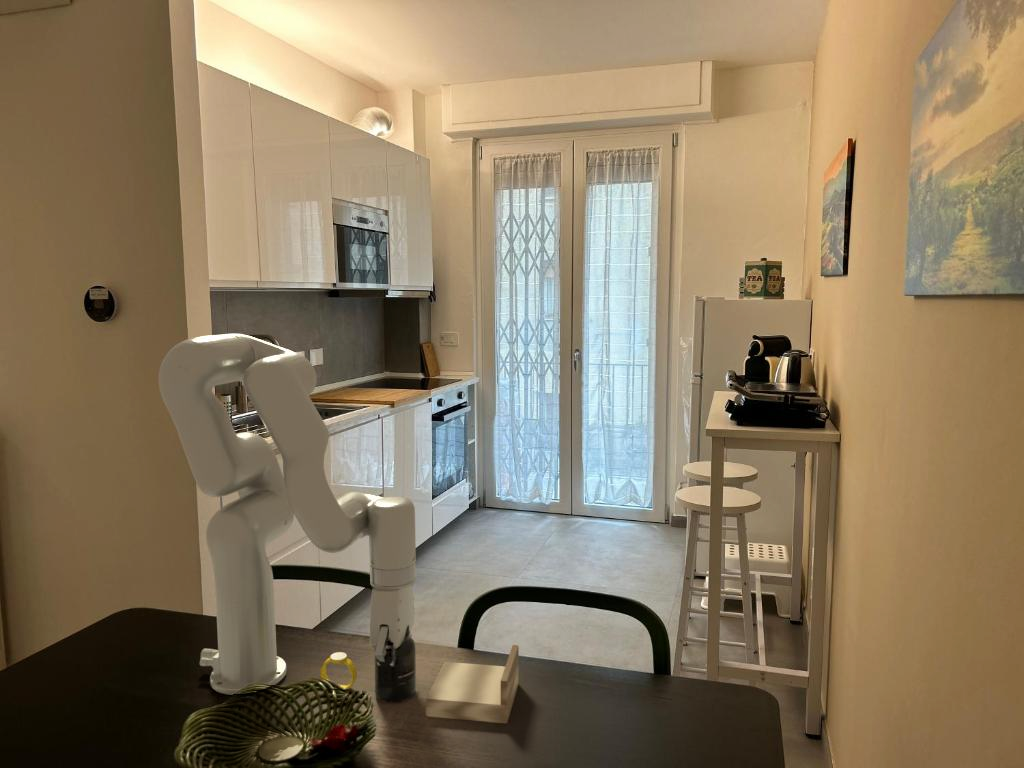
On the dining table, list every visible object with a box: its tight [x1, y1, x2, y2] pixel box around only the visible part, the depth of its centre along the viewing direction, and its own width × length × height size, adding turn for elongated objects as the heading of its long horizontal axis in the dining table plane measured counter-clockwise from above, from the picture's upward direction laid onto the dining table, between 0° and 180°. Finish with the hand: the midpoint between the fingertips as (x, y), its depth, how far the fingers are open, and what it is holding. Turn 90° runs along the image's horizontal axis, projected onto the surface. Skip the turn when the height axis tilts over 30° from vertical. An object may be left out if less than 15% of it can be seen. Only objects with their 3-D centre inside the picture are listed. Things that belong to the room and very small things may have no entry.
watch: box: [320, 651, 358, 690], centre depth 127 cm, size 6×3×6 cm, turn 78°
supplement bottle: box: [373, 625, 417, 703], centre depth 125 cm, size 7×7×12 cm
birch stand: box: [425, 644, 520, 724], centre depth 123 cm, size 13×12×7 cm
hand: (395, 674), depth 125 cm, fingers closed on supplement bottle, 6 cm apart
